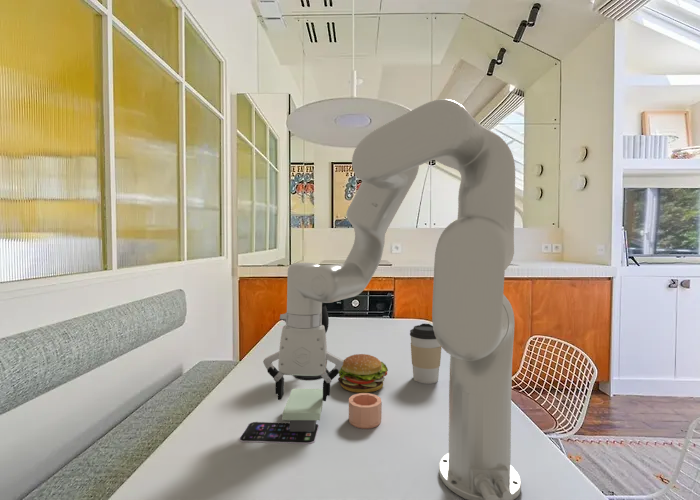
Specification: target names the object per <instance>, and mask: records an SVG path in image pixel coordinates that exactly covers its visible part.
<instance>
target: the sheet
mask: <svg viewBox="0 0 700 500" xmlns="http://www.w3.org/2000/svg"><path fill="white" fill-rule="evenodd" d="M290 391H291V392H290V394H289V396H288V399H287V401H286V403H285V406H284V409H283V412H282V421H290V420H317V421H320V420H321V417H322V416H321V415H322V410H323V405H324V401H323V388H292V389H291V390H290Z"/></svg>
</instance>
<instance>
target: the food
mask: <svg viewBox="0 0 700 500" xmlns="http://www.w3.org/2000/svg"><path fill="white" fill-rule="evenodd" d="M342 360H343V366H342V367H341V369H340V371H339V373H338V376H339V377H338V378H337V380H338V381H337V382H339V384H340V386H341V387H342V388H343V389H344V390H346V391H349V392H352V393H355V394H359V393H373V392H376V391H379V390H381V389H382V388H383V386H384V382H385V377H386V376H387V375H388V371H389V370H388V367H387V365H386V363H384V362H383V361H381V360H380V359H379V358H377V357H375V356H373V355H371V354H365V353H361V354H360V353H357V354H352V355H350V356H348V357H345V359H342Z"/></svg>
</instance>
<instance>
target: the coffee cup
mask: <svg viewBox="0 0 700 500" xmlns="http://www.w3.org/2000/svg"><path fill="white" fill-rule="evenodd" d="M409 336H410V354H411V364H412V375H413V376H412V377H413V381H416V382H418V383H422V384H435V383H437V382H438V381H439V376H440V375H439V374H440V366H441V359H442V358H441V357H442V347H441V346H440V344H439V343H438V341H437V339H436V336H435V334H434V330H433V324H431V323H422V324H419V325H414V326H413V328H412V329H410V330H409Z"/></svg>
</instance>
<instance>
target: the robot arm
mask: <svg viewBox="0 0 700 500" xmlns="http://www.w3.org/2000/svg"><path fill="white" fill-rule="evenodd" d="M351 158H352V159H351V167H352V170H353V173H354V174H355V176H356V177H357V178H358V179H359V180H361V183H360V185H359V187H358V189H357V191H356V193H355V195H354V197H353V199H352V200H351V202H350V204H349V206H348V208H347V210H346V218H347V220H348V222H349V223H350V225H352V228H353V229H354V240H353V244H352V247H351V249H350V251H349V253H348V255H347V257H346V259H345V261H344V262H342V263H333V264H325V265H320V264H319V263H315V262H294V263H291V264H290V265H289V266H288V269H287V278H286V279H287V280H286V281H287V284H286V285H287V287H286V291H287V292H286V293H287V294H286V298H287V299H286V312H285V313H282V314H281V313H280V314H279V315H280V316H279V320H280V321H283V322H284V323H285V325H284V326H282V328H281V334H280V335H281V336H280V343H279V350H278V351H277V352H275V353H273V354H271V355H268V356H266V357H264V359H263V361H262V363H263V364H264V366H265V369H266V370H267V373H268V374H269V375H270V376H271V377H272V378H273V381H274V382H275V389H274V390H275V392H274V394H275V395H277V401H281V400H282V399H283V396H284V394H285V378H284V376H294V375H300V376H319V375H321V376H322V378H321V379H323V382H322V389H323V402H327V397H328V396H329V397H330V396H331V382H332V380H333V379H334V378H336V377H337V376H339V374H338V373H339V371H340V369H341V367H342V366H343V360H344V359H342V358H340V357H338V356H336V355H334V354H332V353H331V352H329V351H328V347H327V346H328V344H327V332H325V327H324V325H322V304H330V303H334V302H338V301H339V302H340V301H341V300H347V299H350V298H353V297H357V296H358V295H360V294H361V293H362V292H363V291H364V290H365V289H366V288H367V286H368V285H369V283H370V282H371V280H372V278H373V277H374V274H375V273H376V271H377V269H378V267H379V266H380V263H381V261H382V256H383V252H384V247H385V240H386V239H385V237H386V234H387V233H386V232H387V231H388V230H389V227H390V224H392V222H393V219H394V218H395V216H396V215H397V212H398V211H399V208H400V207H401V205H402V203H403V202H404V200H405V198H406V196H407V195H408V193H409V191H410V189H411V187H412V185H413V184H414V182H415V180H416V178H417V175H418V173H419V170H420V169H419V167H420V166H421V165H424V164H427V163H429V162H431V161H435V162H437V163H440V164H441V165H444V166H445V167H449V168H451V169H454V170H457V171H458V172H459V174H460V185H459V189H458V198H457V199H458V200H457V201H458V202H457V203H458V204H457V205H458V208H457V219H455V220H453V221H452V222H450V224H448V225H447V226H446V227H445V228H444V230H442V232H441V234H440V236H439V238H438V241H437V243H436V247H435V250H434V251H435V253H434V265H433V282H432V283H433V286H432V288H433V289H432V307H431V308H432V309H431V310H432V311H431V312H432V313H431V318H432V319H431V321H432V322H431V323H432V326H433V330H434V334H435V336H436V339H437V341H438V343H439V344H440V346H441V349H443V350H444V351H445V352H446V353H447V354H448V355H449V356H450V357H449V381H448V383H449V384H448V387H449V388H448V389H449V391H448V392H449V393H448V397H449V398H448V453H446V454H445V455H444V456H442V458H441V459H439V464H438V474H439V478H440V479H441V482H443V484H444V485H445V486H446V488H448V489H449V490H450V491H452V492H453V493H454V494H456V495H457V496H459V497H461V498H463V499H465V500H516V499H517V498H518V497H519V495H520V493H521V490H522V480H521V477H520V475H519V473H518V471H516V469H515V468H514V467H513V466H512V465H511V451H512V450H511V446H512V445H511V442H512V441H511V439H512V438H511V437H512V435H511V434H512V433H511V432H512V391H513V390H512V389H513V387H512V386H513V385H512V384H513V383H512V381H513V379H512V378H513V377H512V376H513V355H514V339H515V324H516V323H515V313H514V309H513V306H512V304H511V302H510V300H509V299H508V298H507V297H506V295H505V294H504V290H505V286H504V285H505V271H506V270H507V269H508V268H509V266H510V265H511V263H512V261H513V259H514V254H515V211H516V200H515V199H516V198H515V197H516V195H515V194H516V164H515V160H514V159H515V158H514V154H513V153H512V150H511V148H510V146H509V145H508V144H507V142H506V141H505V140H504V138H502V137H501V136H500V135H498V134H497V133H495V132H494V131H492V130H490V129H489V128H486V127H484V126H483V125H481V124H480V123H479V122H478V121H477V120H476V119H475V118H474V117H473V115H472V114H471V113H470V112H469V111H468V109H466V108H465V107H464V106H463V105H462V104H461V103H459V102H457V101H455V100H452V99H447V98H445V99H444V98H443V99H442V98H441V99H440V98H439V99H435V100H432V101H429V102H426V103H424V104H422V105H420V106H417V107H415V108H414V109H412V110H409V111H408V112H406V113H404V114H403V115H400V116H399V117H396V118H395V119H393V120H391V121H389V122H388V123H385V124H383V125H381V126H379V127H378V128H376V129H374V130H373V131H371V132H370V133H369V134H367V135H365V136H364V137H363V138H362V139H361V140H360V141H359V143H358V144H357V145H356V146H355V149H354V151H353V154H352V157H351ZM277 360H278V369H277V368H276V367H275V366H274V365H273V362H275V361H277ZM328 362H331V363H333V364H334V367H333V368H332V369H331V370H330V371H329V369H328V367H327V364H328Z"/></svg>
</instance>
